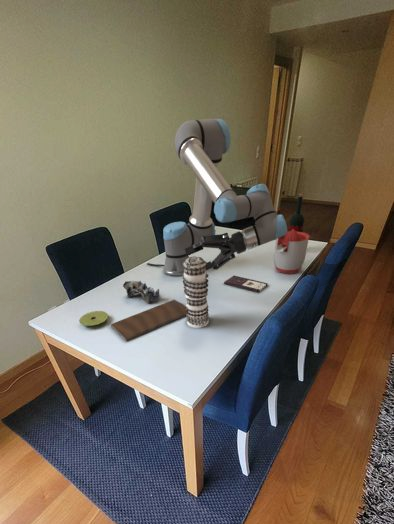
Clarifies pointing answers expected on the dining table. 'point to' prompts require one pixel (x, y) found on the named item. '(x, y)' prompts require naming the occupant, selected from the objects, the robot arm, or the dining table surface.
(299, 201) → the wine bottle
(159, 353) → the dining table surface
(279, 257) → the citrus juicer
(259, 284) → the chocolate bar
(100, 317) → the mat
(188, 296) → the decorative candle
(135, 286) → the foil
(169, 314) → the walnut board
